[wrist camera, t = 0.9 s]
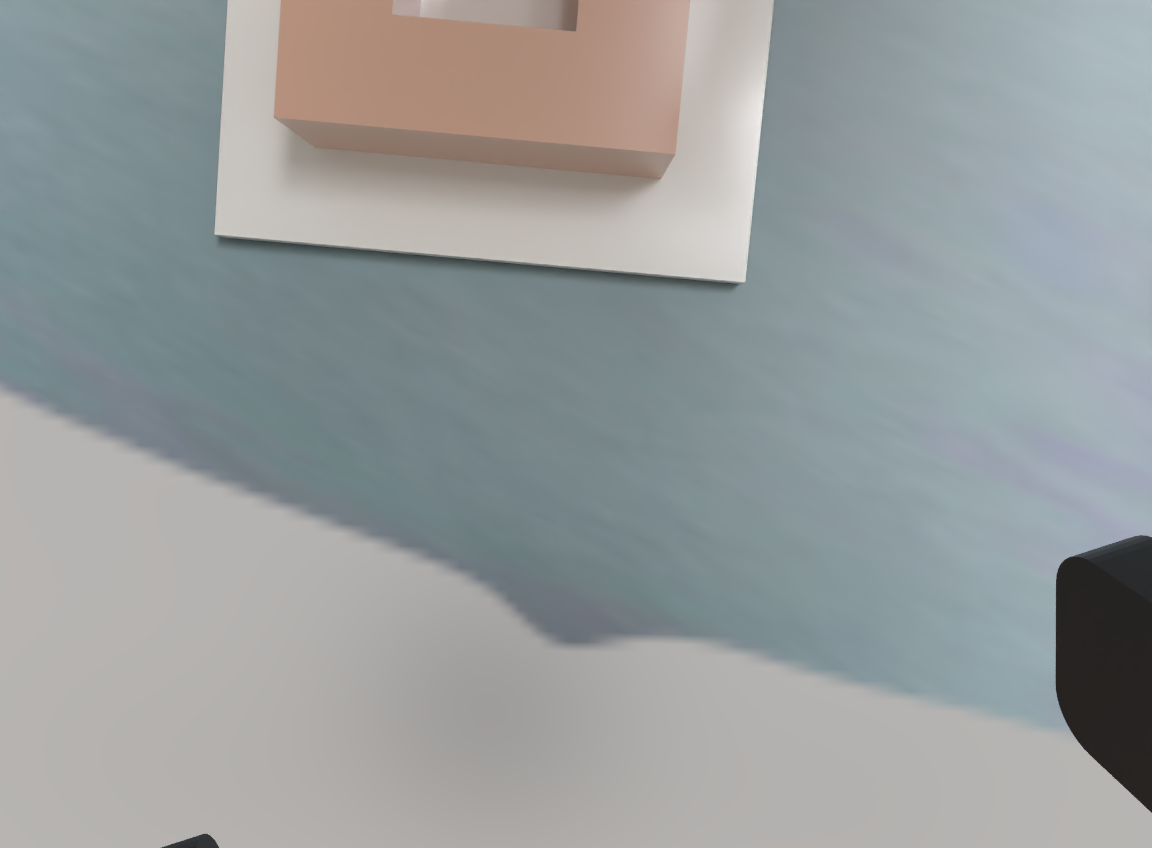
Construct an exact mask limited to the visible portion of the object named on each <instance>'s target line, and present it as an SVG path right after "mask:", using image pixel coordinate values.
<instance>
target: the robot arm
mask: <svg viewBox="0 0 1152 848" xmlns="http://www.w3.org/2000/svg"><path fill="white" fill-rule="evenodd" d="M1056 692H1057V698H1058V702H1059V705H1060V708H1061V711H1062V714H1063V716H1064V718H1065V720H1066V722H1067V725H1068V726H1069V728H1070V730H1071V732H1072V733H1073V735H1074V736H1075V738H1076V739H1077V741H1078V742H1079V743H1080V744H1081V746H1082V747H1083V748H1084V749H1085V750H1086V751H1087V752H1088V753H1089V754H1090V755H1091V756H1092V757H1093V758H1094V759H1095V760H1096V761H1097V762H1098V763H1099V764H1100V765H1101V766H1102V767H1103V768H1105V769H1106V770H1107V771H1108V772H1109V773H1110V774H1111V775H1112V776H1113V777H1114V778H1115V779H1116V780H1117V781H1119V782H1120V783H1121V784H1122V785H1123V786H1124V787H1125V788H1126V789H1127V790H1128V791H1129V792H1130V793H1131V794H1132V795H1133V796H1134V797H1136V798H1137V799H1138V800H1139V801H1140V802H1141V803H1142V804H1143V805H1144V806H1145V807H1146V808H1147V809H1148V810H1149V811H1151V812H1152V537H1149V536H1142V535H1140V536H1134V537H1131V538H1128V539H1125V540H1122V541H1119V542H1116V543H1112V544H1109V545H1106V546H1103V547H1100V548H1097V549H1094V550H1091V551H1088V552H1085V553H1082V554H1078V555H1075V556H1072V557H1069V558H1067V559H1066V560H1064V561H1063V562H1062V563H1061V565H1060V567H1059V569H1058V572H1057V579H1056ZM162 848H219V847H218V845H217V843H216V842H215V840H214V839H213V838H212V837H211V836H210V835H208V834H202V835H199V836H196V837H193V838H190V839H187V840H184V841H181V842H177V843H174V844H171V845H168V846H165V847H162Z"/></svg>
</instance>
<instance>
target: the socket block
mask: <svg viewBox="0 0 1152 848" xmlns="http://www.w3.org/2000/svg"><path fill="white" fill-rule="evenodd" d="M773 6H774V0H228V7H227V25H226V42H225V60H224V77H223V95H222V112H221V130H220V147H219V165H218V182H217V199H216V217H215V234H214V235H218V236H221V237H225V238H236V239H247V240H258V241H269V242H280V243H292V244H303V245H314V246H325V247H336V248H347V249H358V250H369V251H380V252H391V253H402V254H414V255H425V256H436V257H447V258H458V259H469V260H480V261H491V262H502V263H513V264H524V265H536V266H547V267H558V268H569V269H580V270H591V271H602V272H613V273H624V274H635V275H646V276H658V277H669V278H680V279H691V280H702V281H713V282H724V283H735V284H741V283H745V279H746V269H747V259H748V250H749V240H750V230H751V220H752V211H753V201H754V191H755V181H756V172H757V162H758V152H759V142H760V133H761V123H762V113H763V103H764V94H765V84H766V74H767V64H768V55H769V45H770V35H771V25H772V16H773Z"/></svg>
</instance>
